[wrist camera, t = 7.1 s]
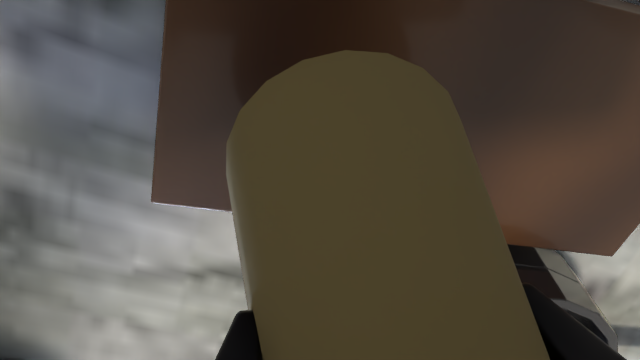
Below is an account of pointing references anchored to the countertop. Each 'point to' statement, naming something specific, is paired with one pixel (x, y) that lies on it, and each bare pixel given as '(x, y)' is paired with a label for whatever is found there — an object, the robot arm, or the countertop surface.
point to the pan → (562, 288)
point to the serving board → (455, 76)
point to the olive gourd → (370, 220)
